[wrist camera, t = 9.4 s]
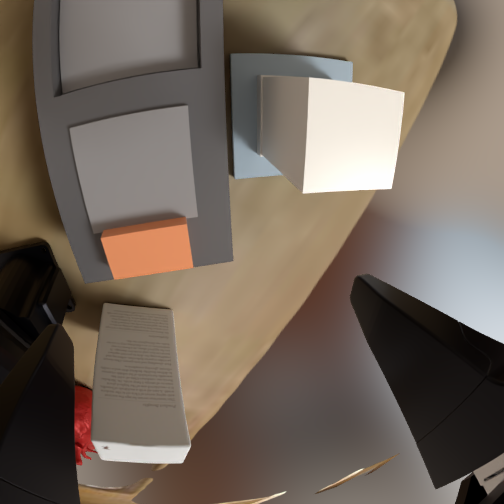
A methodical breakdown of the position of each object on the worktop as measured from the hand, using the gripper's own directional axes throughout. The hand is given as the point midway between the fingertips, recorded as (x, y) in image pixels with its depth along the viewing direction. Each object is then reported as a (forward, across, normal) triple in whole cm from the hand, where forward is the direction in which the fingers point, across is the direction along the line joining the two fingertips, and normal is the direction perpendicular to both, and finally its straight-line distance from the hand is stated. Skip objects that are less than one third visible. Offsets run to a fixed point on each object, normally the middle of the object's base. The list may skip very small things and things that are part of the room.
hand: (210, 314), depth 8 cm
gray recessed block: (+12, +2, -9) cm, 15 cm away
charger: (+12, -7, -4) cm, 14 cm away
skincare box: (+12, +6, +12) cm, 18 cm away
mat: (+12, -7, -4) cm, 14 cm away
